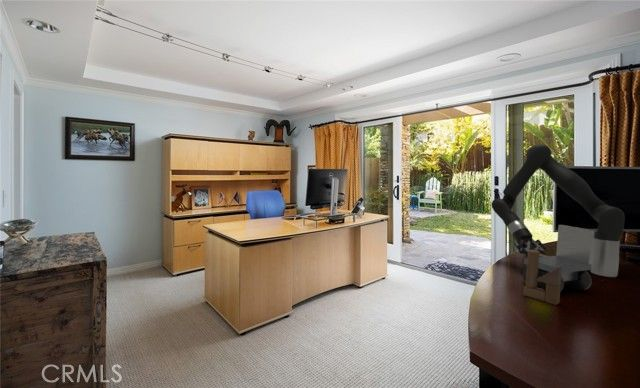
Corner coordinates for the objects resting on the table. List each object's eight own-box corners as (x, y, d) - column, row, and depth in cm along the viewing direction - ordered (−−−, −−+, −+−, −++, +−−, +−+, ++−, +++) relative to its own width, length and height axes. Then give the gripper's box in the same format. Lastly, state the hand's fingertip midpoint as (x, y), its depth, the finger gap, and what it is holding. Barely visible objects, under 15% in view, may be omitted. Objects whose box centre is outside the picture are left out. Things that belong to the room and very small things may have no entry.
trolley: (553, 279, 137) (557, 224, 136) (593, 292, 122) (598, 230, 120) (519, 282, 132) (523, 225, 130) (556, 297, 117) (561, 232, 115)
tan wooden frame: (556, 305, 109) (559, 256, 108) (522, 295, 118) (525, 250, 116) (559, 303, 111) (563, 255, 110) (526, 293, 120) (529, 249, 119)
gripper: (513, 227, 147) (534, 257, 136) (535, 226, 150) (557, 255, 140) (503, 236, 152) (522, 265, 142) (525, 235, 156) (545, 263, 146)
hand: (540, 260), depth 141 cm, fingers open, 8 cm apart
